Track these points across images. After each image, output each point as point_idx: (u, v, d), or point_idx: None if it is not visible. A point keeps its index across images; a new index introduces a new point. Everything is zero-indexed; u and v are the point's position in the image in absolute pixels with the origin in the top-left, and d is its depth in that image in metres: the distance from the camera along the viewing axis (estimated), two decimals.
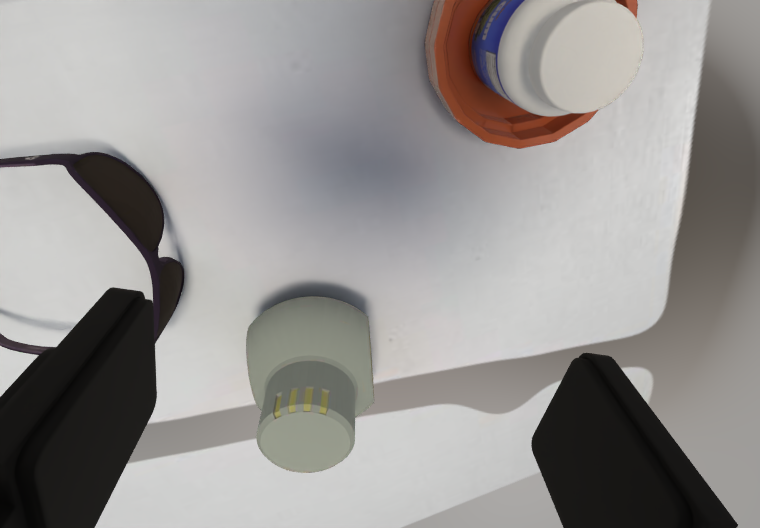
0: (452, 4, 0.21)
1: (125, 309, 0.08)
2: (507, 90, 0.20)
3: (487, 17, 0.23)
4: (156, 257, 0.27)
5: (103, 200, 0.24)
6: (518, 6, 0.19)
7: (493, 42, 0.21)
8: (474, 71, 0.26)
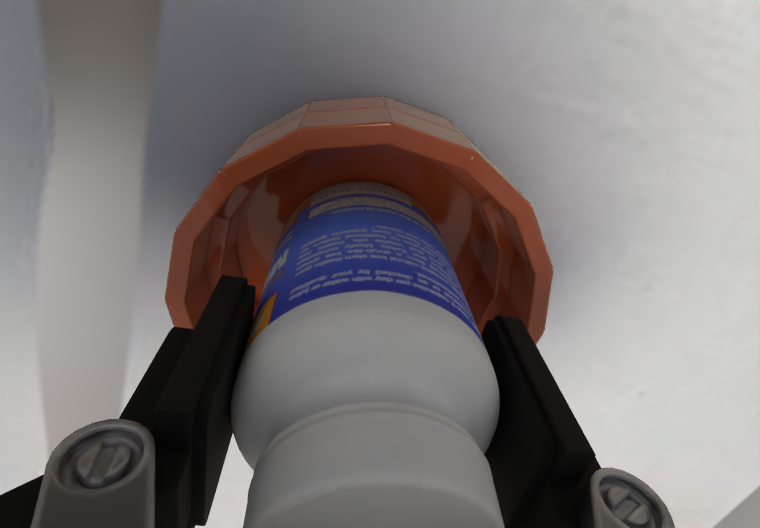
0: None
1: (240, 293, 0.09)
2: None
3: None
4: None
5: None
6: None
7: None
8: None
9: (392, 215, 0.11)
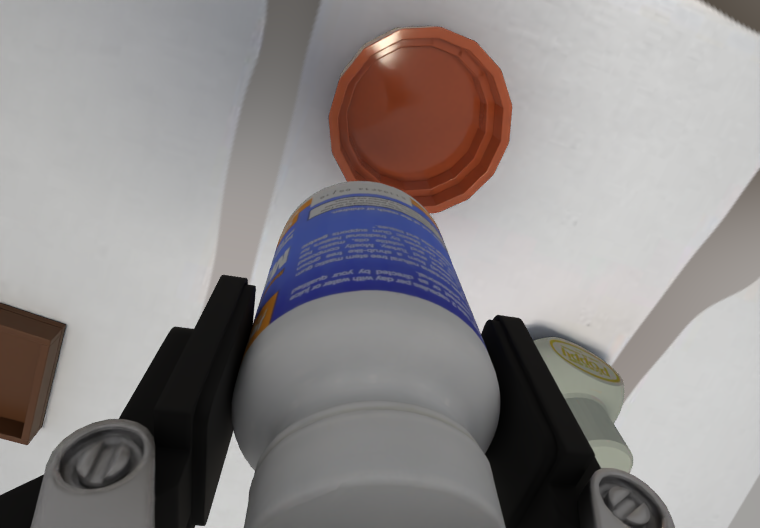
0: (353, 179, 0.26)
1: (240, 293, 0.09)
2: None
3: None
4: None
5: None
6: None
7: None
8: None
9: (393, 216, 0.11)
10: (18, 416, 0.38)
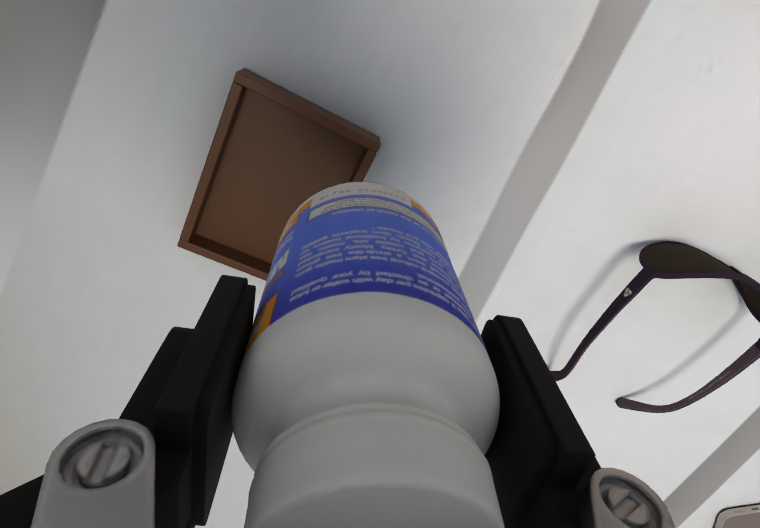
0: None
1: (240, 293, 0.09)
2: None
3: None
4: (744, 274, 0.32)
5: (700, 273, 0.30)
6: None
7: None
8: None
9: (393, 216, 0.11)
10: None
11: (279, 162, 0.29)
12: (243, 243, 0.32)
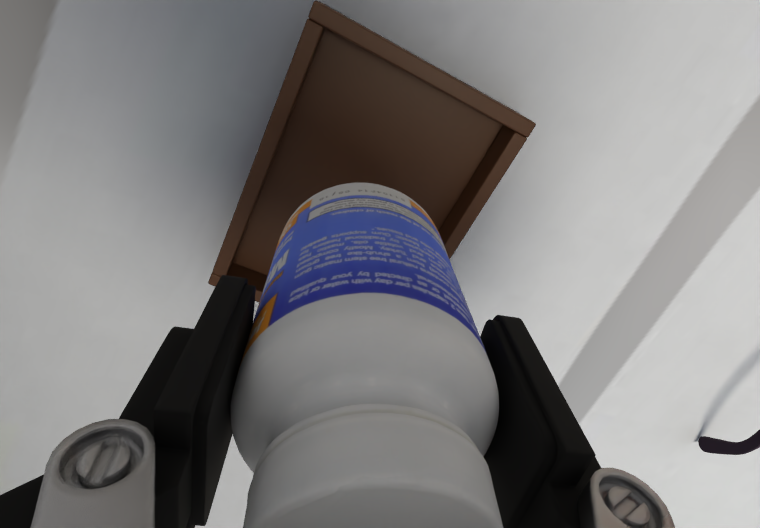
0: None
1: (240, 293, 0.09)
2: None
3: None
4: None
5: None
6: None
7: None
8: None
9: (392, 217, 0.11)
10: None
11: (365, 155, 0.19)
12: None
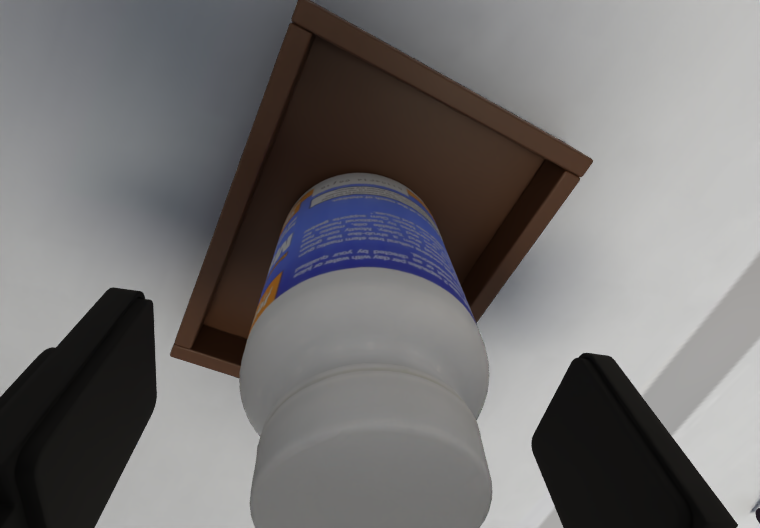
0: None
1: (125, 309, 0.08)
2: None
3: None
4: None
5: None
6: None
7: None
8: None
9: (390, 203, 0.12)
10: None
11: None
12: None
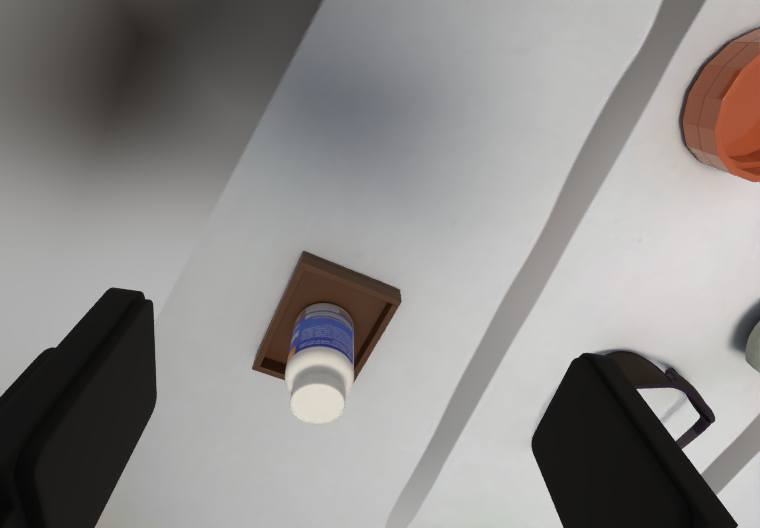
0: (723, 152, 0.32)
1: (125, 309, 0.08)
2: None
3: None
4: (675, 381, 0.42)
5: (639, 385, 0.40)
6: None
7: None
8: None
9: (330, 319, 0.38)
10: None
11: None
12: None
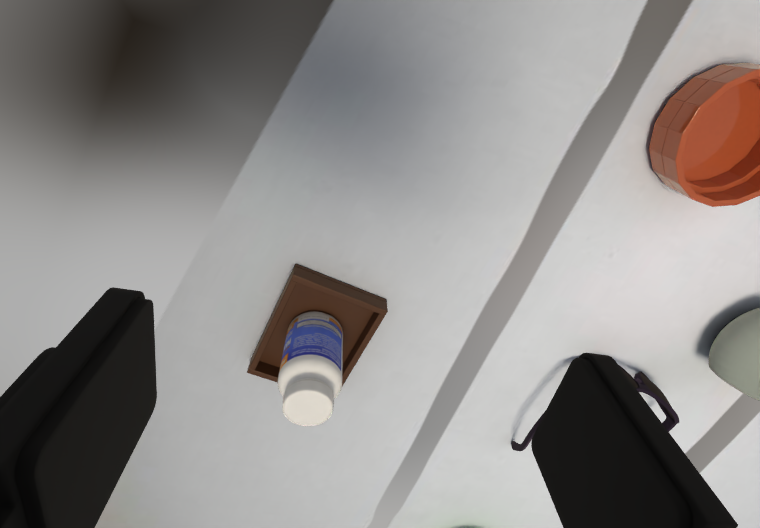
0: (684, 180, 0.34)
1: (125, 309, 0.08)
2: None
3: None
4: (642, 385, 0.45)
5: None
6: None
7: None
8: None
9: (320, 328, 0.40)
10: None
11: None
12: None
